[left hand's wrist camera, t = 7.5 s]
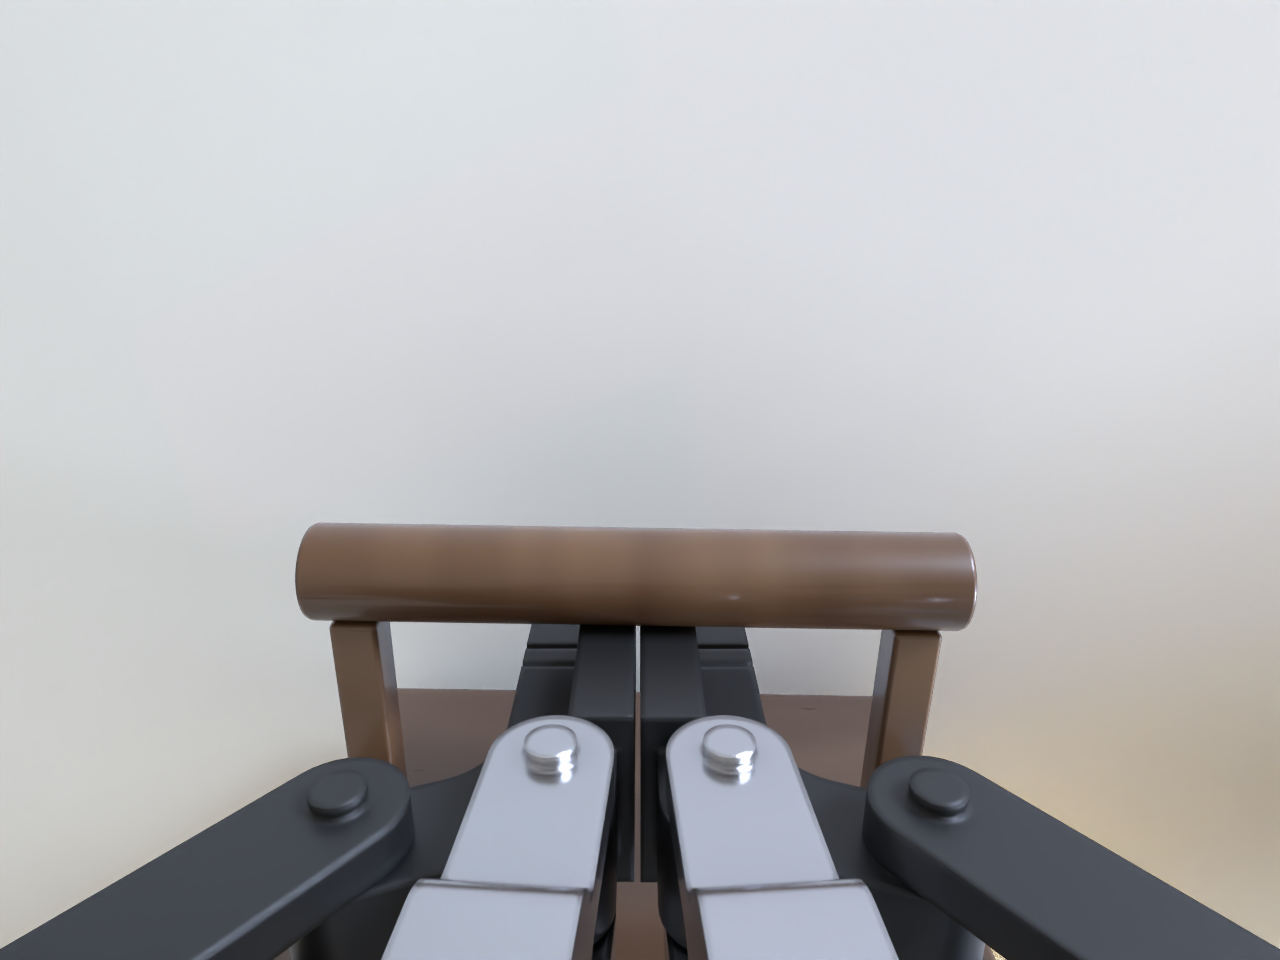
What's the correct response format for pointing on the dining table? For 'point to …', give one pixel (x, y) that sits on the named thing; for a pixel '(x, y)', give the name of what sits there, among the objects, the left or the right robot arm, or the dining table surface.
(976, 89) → the dining table surface
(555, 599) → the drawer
